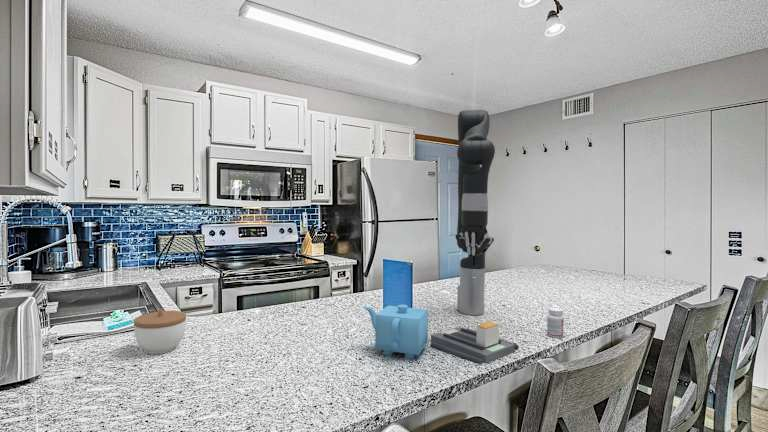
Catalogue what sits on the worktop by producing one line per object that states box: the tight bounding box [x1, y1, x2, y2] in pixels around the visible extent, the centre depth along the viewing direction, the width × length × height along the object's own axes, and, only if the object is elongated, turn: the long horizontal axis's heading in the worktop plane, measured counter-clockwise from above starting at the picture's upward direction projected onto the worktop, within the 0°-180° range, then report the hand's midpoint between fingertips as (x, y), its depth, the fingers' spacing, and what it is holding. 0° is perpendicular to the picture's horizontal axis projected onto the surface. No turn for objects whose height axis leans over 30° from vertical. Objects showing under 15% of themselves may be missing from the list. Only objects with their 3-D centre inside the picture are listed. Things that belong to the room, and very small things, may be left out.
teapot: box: [362, 304, 429, 360], centre depth 112 cm, size 18×16×13 cm
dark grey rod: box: [467, 328, 520, 350], centre depth 121 cm, size 19×1×1 cm, turn 39°
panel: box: [430, 326, 515, 364], centre depth 115 cm, size 20×13×3 cm, turn 39°
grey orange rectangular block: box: [476, 321, 500, 347], centre depth 111 cm, size 3×6×5 cm, turn 129°
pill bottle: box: [546, 307, 565, 339], centre depth 126 cm, size 5×5×8 cm
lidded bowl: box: [133, 308, 187, 355], centre depth 110 cm, size 13×13×11 cm
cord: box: [430, 342, 483, 364], centre depth 109 cm, size 17×1×1 cm, turn 44°
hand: (473, 267), depth 117 cm, fingers closed
